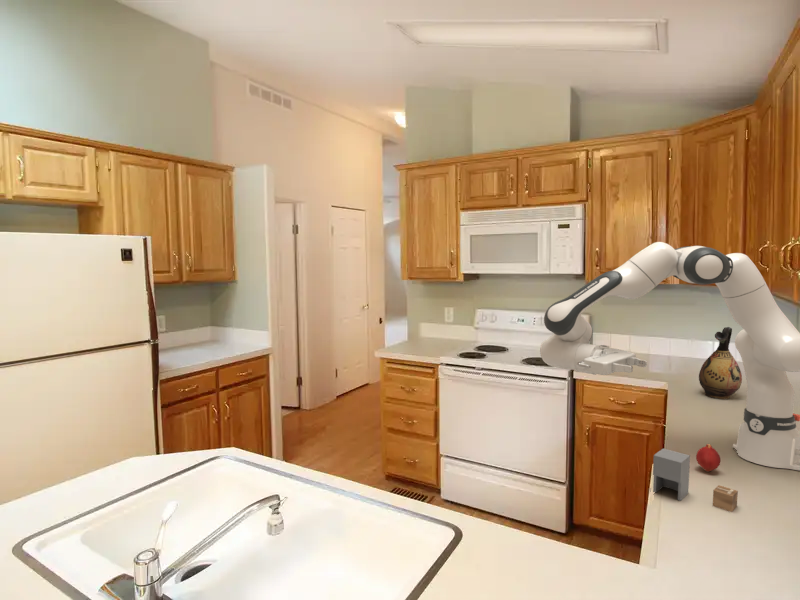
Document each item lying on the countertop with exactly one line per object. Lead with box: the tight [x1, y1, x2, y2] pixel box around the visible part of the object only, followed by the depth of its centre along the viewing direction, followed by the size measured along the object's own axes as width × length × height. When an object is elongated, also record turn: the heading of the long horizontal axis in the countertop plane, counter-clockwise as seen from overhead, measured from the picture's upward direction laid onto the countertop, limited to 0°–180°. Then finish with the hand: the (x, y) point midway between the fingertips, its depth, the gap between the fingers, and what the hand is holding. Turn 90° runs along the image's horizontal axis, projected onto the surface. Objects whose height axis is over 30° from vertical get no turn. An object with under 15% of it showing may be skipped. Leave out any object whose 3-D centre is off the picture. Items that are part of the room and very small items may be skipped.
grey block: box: [652, 448, 691, 502], centre depth 124 cm, size 6×6×10 cm
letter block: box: [712, 484, 739, 513], centre depth 118 cm, size 4×4×4 cm
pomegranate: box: [695, 443, 721, 473], centre depth 137 cm, size 6×6×8 cm
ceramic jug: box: [698, 326, 743, 400], centre depth 208 cm, size 17×15×30 cm
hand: (639, 366), depth 135 cm, fingers open, 8 cm apart
